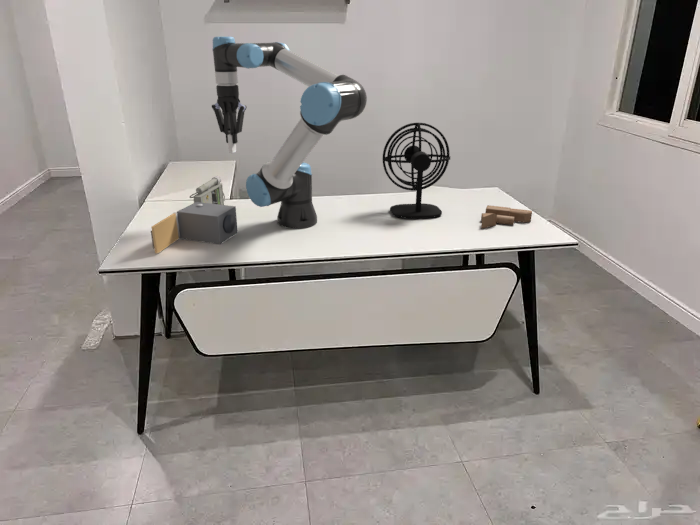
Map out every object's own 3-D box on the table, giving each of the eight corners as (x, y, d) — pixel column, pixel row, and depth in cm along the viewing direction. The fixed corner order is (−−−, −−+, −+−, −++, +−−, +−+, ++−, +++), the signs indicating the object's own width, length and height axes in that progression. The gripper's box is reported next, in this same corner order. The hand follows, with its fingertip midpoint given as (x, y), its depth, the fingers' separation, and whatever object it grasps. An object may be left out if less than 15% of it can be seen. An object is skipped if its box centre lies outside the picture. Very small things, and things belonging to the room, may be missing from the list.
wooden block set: (485, 202, 215) (532, 207, 209) (483, 215, 217) (530, 221, 212) (479, 214, 200) (530, 220, 195) (477, 229, 203) (528, 235, 197)
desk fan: (442, 204, 229) (448, 119, 215) (454, 218, 213) (462, 127, 199) (378, 207, 226) (381, 120, 212) (386, 220, 210) (389, 128, 196)
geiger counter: (202, 188, 199) (229, 172, 222) (186, 187, 200) (214, 171, 223) (205, 224, 205) (232, 205, 227) (190, 223, 206) (217, 204, 228)
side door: (158, 253, 177) (154, 226, 173) (153, 253, 177) (149, 226, 173) (180, 237, 190) (177, 212, 187) (176, 237, 191) (173, 212, 187)
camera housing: (240, 233, 196) (237, 205, 192) (222, 244, 186) (219, 215, 182) (199, 227, 201) (196, 200, 197) (180, 238, 191) (176, 209, 187)
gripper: (249, 84, 190) (253, 151, 200) (216, 82, 194) (222, 149, 203) (238, 86, 184) (243, 155, 193) (204, 84, 188) (211, 153, 197)
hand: (232, 152), depth 198 cm, fingers closed
